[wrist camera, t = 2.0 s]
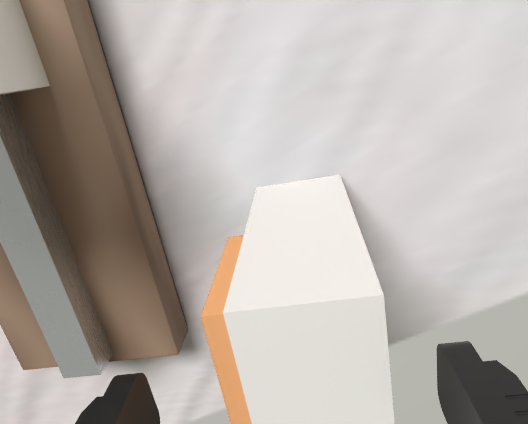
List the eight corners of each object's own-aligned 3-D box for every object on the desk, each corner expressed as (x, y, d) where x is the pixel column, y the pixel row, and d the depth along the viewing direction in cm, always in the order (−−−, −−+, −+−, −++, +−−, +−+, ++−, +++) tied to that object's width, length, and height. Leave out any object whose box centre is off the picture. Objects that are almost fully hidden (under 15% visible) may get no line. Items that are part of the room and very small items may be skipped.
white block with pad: (240, 189, 20) (192, 316, 10) (339, 174, 19) (383, 294, 10) (261, 287, 22) (236, 466, 12) (351, 276, 21) (397, 457, 12)
